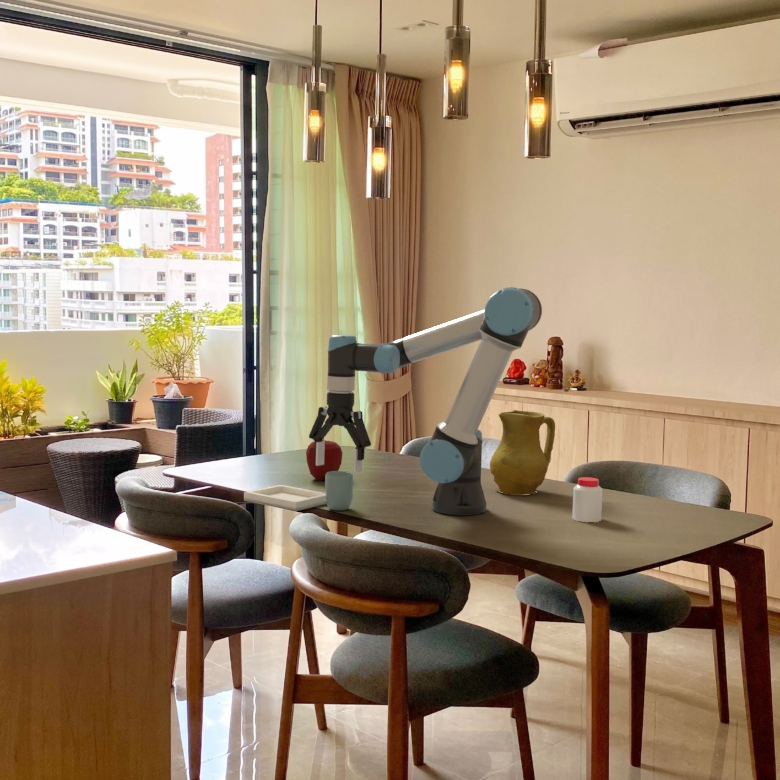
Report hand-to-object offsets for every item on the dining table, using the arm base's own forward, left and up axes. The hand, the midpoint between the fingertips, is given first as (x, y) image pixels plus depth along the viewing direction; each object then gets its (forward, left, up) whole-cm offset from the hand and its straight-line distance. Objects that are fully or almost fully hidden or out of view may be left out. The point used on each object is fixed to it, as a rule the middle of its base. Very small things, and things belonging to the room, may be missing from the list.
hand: (338, 468), depth 269 cm
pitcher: (-25, -56, -12) cm, 63 cm away
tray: (+17, +2, -11) cm, 20 cm away
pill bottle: (-57, -36, -12) cm, 69 cm away
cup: (0, 0, -12) cm, 12 cm away
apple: (+32, -30, -12) cm, 45 cm away
